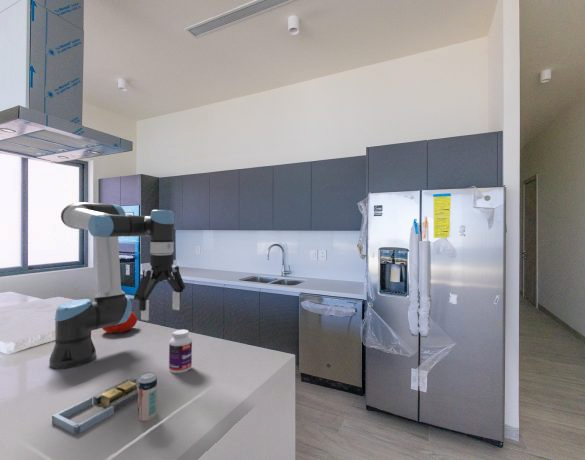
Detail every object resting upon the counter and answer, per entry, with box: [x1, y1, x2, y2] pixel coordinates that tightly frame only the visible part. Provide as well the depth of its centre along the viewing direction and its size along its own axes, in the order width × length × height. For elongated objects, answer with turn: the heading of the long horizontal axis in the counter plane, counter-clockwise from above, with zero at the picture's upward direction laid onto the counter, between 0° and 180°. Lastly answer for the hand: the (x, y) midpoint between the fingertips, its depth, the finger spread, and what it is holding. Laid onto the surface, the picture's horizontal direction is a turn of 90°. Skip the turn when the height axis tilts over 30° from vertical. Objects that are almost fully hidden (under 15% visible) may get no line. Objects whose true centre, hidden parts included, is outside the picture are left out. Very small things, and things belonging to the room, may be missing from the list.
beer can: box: [137, 371, 158, 422], centre depth 85 cm, size 5×5×12 cm
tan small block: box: [101, 388, 122, 407], centre depth 91 cm, size 4×4×3 cm
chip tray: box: [51, 396, 115, 436], centre depth 83 cm, size 11×10×2 cm
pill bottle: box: [168, 329, 193, 374], centre depth 113 cm, size 8×8×14 cm
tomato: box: [101, 311, 138, 334], centre depth 154 cm, size 14×16×10 cm
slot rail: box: [92, 377, 138, 413], centre depth 94 cm, size 10×13×2 cm
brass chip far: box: [117, 381, 138, 397], centre depth 95 cm, size 4×4×3 cm
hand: (161, 314), depth 105 cm, fingers open, 13 cm apart
